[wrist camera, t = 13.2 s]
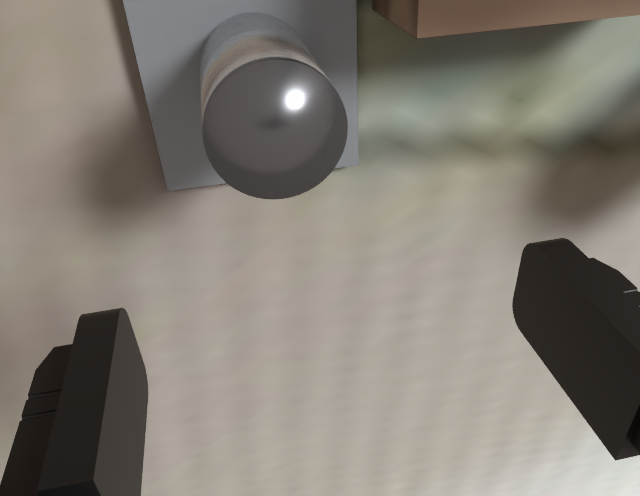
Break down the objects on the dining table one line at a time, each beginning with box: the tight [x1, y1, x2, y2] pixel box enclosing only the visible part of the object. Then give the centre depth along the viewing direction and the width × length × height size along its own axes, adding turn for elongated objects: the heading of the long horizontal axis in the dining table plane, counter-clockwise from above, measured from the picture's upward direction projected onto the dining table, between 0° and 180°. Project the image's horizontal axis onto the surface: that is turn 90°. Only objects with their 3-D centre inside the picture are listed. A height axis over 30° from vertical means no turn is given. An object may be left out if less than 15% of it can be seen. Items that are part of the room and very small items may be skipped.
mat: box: [123, 0, 359, 191], centre depth 26 cm, size 11×10×1 cm
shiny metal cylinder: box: [200, 12, 348, 199], centre depth 22 cm, size 5×5×8 cm
